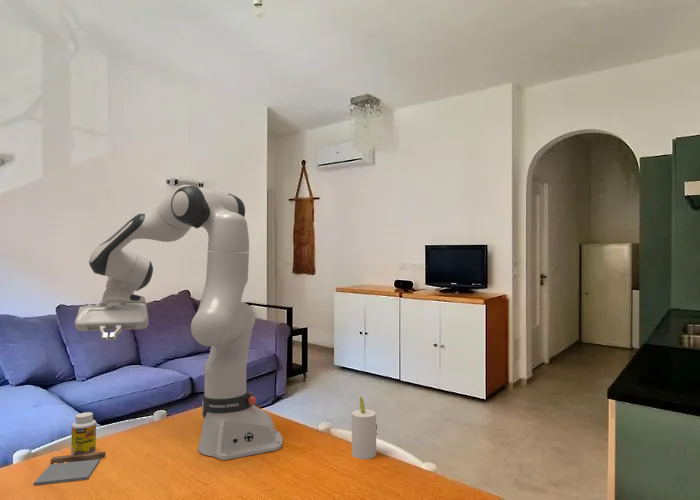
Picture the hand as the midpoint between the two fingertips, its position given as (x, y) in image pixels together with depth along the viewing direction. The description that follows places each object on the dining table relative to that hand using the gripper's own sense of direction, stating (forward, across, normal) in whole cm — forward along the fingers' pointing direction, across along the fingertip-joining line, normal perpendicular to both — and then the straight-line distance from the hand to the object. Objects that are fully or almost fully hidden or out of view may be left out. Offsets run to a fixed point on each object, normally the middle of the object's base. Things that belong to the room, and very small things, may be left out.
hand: (108, 339), depth 136 cm
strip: (+33, -2, +6) cm, 34 cm away
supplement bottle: (+30, -2, +9) cm, 32 cm away
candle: (+45, +69, -6) cm, 82 cm away
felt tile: (+38, -2, 0) cm, 38 cm away
